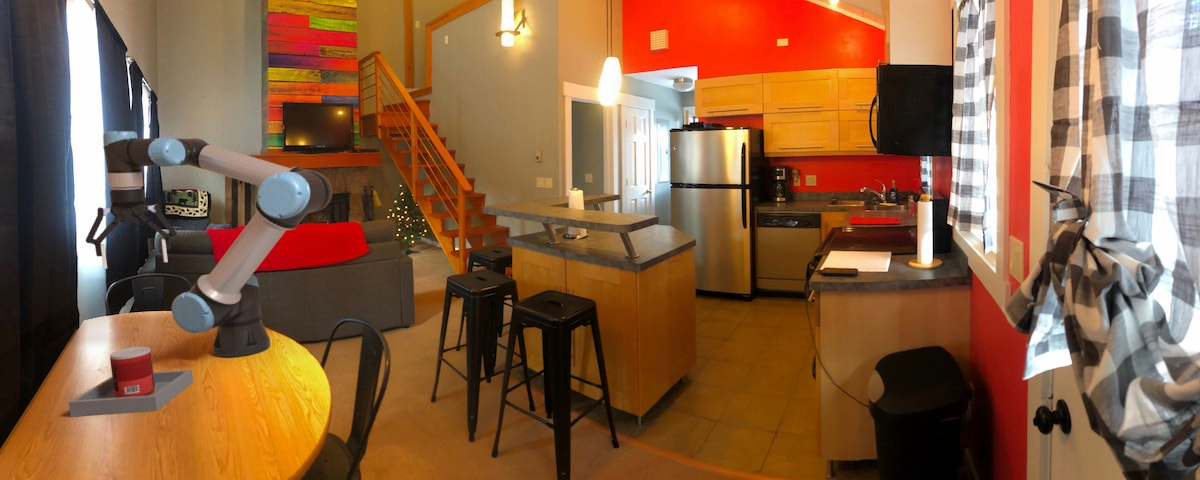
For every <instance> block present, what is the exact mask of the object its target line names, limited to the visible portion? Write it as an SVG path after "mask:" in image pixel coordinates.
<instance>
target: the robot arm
mask: <svg viewBox="0 0 1200 480" xmlns="http://www.w3.org/2000/svg"><path fill="white" fill-rule="evenodd" d="M102 137H103V147H102V148H103V151H104V156H105V163H106V169H107V170H106V171H107V180H108V186H109V187H108V188H111V189H110V191H109V195H110V201H111V202H110V204H111V206H110V207H101V206H99V207H98V208H97V209H96V210H97V216H96V218H95V220H94V222H93V224H92V226H91V228H90V230H89V232H88V234H87V236H86V239H85V242H86V243H87V244H91V245H94V248H95V254H96V256H97V257H101V259H102V267H103V269H104V270H105V269H108V264H107V263H108V262H107V255H106V247H105V243H103V241H104V240H105V239H106V238H107V237H108V236H109V235H110V234H111V232H112V231H113V230H114V229H115V228H116V226H117V225H118V224H119V223H120V222H121V223H123V224H128V223H139V222H140V221H143V222H144V223H145V224H147V225H148V226H149V227H151V228H152V229H153V230H154V231H156V232H157V234H159V235H161V237H163V238H160V241H161V251H162V259H163V263H168V262H169V260H168V252H167V251H170V250H171V247H172V245H171V238H173V237H176V236H177V235H178V232H177V231H176V230H175V229H174V228H173V226H172V224H171V223H170V222H169V221H168V219H167V218H166V217H165V215H164V214H163V213H162V210H161V206H160V205H159V204H156V203H155V204H153V205H147V203H146V197H145V190H144V188H143V187H144V180H143V172H142V167H164V168H167V167H177V166H192V167H195V168H198V169H202V170H206V171H208V172H211V173H212V172H213V173H215V174H219V175H221V176H226V177H229V178H231V179H235V180H238V181H242V182H244V183H247V184H248V183H249V184H251V185H254V186H258V189H257V191H256V193H257V194H256V196H257V199H256V200H257V201H255V203H254V209H255V214H254V215H253V216H252V218H251V219H249V222H248V223H247V224H246V226H245V227H244V228H243V230H242V231H241V232H240V233H239V235H238V236H237V238H236V239H235V240H234V241H233V243H232V244H231V245H230V246H229V248H228V249H227V250H226V252H225V254H224V255H223V256H222V257H221V259H220V260H219V262H218V263H217V264H216V266H215V267H214V268H213V270H211V271H210V273H208V274H203V275H201V276H199V278H198V279H197V280H196V282H194V284H193V286H192V287H191V288H190V289H189V290H188V291H185V292H182V293H180V294H179V295H177V296H176V297H175V298H174V299H173V301H172V304H171V314H172V316H173V320H174V322H175V324H176V325H178V326H179V328H180V329H182V330H183V331H185V332H188V333H190V334H200V333H205V332H209V331H211V330H212V329H215V328H216V327H217V329H216V333H215V337H214V341H213V345H212V352H213V356H216V357H219V358H237V357H245V356H250V355H254V354H257V353H261V352H264V351H265V350H268V349H269V348H270V347H271V338H270V336H269V334H268V331H267V330H266V327H265V326H264V324H263V321H262V309H261V300H260V286H259V281H258V278H257V276H255V275H253V274H254V272H255V271H257V269H258V267H259V266H260V265H261V263H262V262H263V261H264V260H265V259H266V258H267V256H268V255H269V253H270V252H271V250H273V248H274V247H275V245H276V244H277V243H278V242H279V240H280V239H281V238H282V237H283V235H284V234H285V233H286V231H291V230H295V229H296V228H297V227H298V226H299V224H301V221H302V220H304V218H305V216H307V215H308V214H311V213H316V212H319V211H322V210H323V209H324V208H325V207H327V206H328V205H329V203H330V202H331V200H332V197H333V188H332V184H331V182H330V180H329V179H328V178H327V177H326V176H325V175H324V174H322V173H321V172H318V171H315V170H310V169H306V168H302V167H299V166H293V167H291V168H290V167H287V166H284V165H282V164H281V165H280V164H277V163H274V162H271V161H268V160H264V159H260V158H257V157H254V156H250V155H247V154H244V153H240V152H237V151H234V150H231V149H228V148H224V147H221V146H217V145H214V144H212V143H211V142H209V141H208V140H206V139H202V138H195V137H193V138H170V137H155V138H139V137H138V133H137V132H135V131H130V130H129V131H127V130H125V131H123V130H121V131H120V130H118V131H116V130H114V131H112V130H111V131H105V132H104V133H103V136H102ZM148 211H151V213H154V214H156V216H157V217H158V219H159V220H160V222H161V223H162V225H163V226H164V227H165V228H166V229H167V230H168V233H167V232H166V231H165V230H163V229H162V228H161V227H159V226H158V225H157V224H156V223H154V222H153V221H152V220H151V219H149V218H148V217H147V216H146V215H147V213H148ZM108 213H111V215H113V217H114V218H113V219H112V221H111V222H110V223H109V224H108V225H107V226H106V227H105V228H104V229H103V231H102V232H101V233H100V234H99V235H98V237H96V238H95V236H96V233H97V232H98V229H99V227H100V225H101V223H102V221H103V219H104V217H106V216H107V215H108Z"/></svg>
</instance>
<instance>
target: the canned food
mask: <svg viewBox="0 0 1200 480" xmlns="http://www.w3.org/2000/svg"><path fill="white" fill-rule="evenodd" d="M151 352H152V350H151V348H150V347H148V346H133V347H128V348H123V349H119V350H116V351H113V352H112V353H110V354H109V360H110V369H111V377H113V384H114V391H115V396H116V398H119V397H134V396H148V395H150V394H152V393H153V392H154V390H155V383H154V374H153V372H154V368H153V365H154V364H153V359H152V353H151Z"/></svg>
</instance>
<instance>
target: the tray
mask: <svg viewBox="0 0 1200 480" xmlns="http://www.w3.org/2000/svg"><path fill="white" fill-rule="evenodd" d="M153 374H154V383H155V390H154V392H153V393H152V394H150V395H148V396H134V397H119V398H116V396H115V391H114V384H113V377H112V376H110V377H109V378H107V379H106V380H104V381H102V382H101V383H99V384H97V385H95V386H93V387H92V388H90V389H89V390H87V391H85V392H84V393H82V394H81V395H80V394H79V396H77V397H75V398H73V399H72V400H70V401H68V409H69V415H70V418H74V417H75V418H76V417H77V418H78V417H87V416H88V417H90V416H104V415H117V414H131V413H132V414H133V413H144V412H157V411H159V410H160V409H162V408H163V407H164V406H165V405H166V404H168V403H169V402H171V401H172V400H173V399H175V397H177V396H178V395H180V394H181V393H182V392H183V391H185V390H186V389H187V388H188V387H189V386H191V385H192V384H194V374H193V370H192V369H182V370H168V371H153Z"/></svg>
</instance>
